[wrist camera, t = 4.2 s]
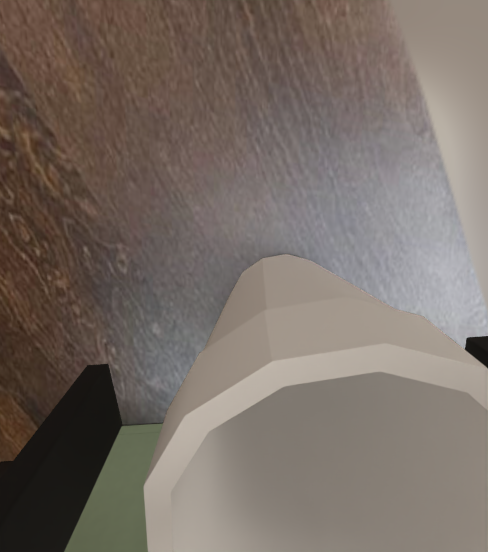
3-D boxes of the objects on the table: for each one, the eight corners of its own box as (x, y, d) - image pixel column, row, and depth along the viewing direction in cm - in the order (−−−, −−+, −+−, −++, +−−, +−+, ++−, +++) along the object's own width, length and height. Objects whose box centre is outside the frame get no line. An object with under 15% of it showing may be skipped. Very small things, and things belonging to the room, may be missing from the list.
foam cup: (261, 394, 22) (287, 686, 9) (173, 290, 19) (54, 497, 7) (387, 318, 20) (618, 553, 8) (306, 194, 18) (454, 247, 5)
